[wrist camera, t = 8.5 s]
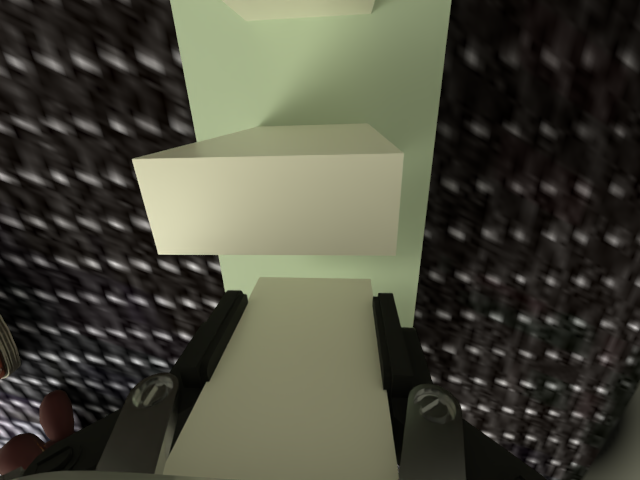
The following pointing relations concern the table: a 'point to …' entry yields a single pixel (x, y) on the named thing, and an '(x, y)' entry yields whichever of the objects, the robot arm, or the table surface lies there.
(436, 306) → the table surface
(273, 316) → the domino
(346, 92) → the board
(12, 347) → the lighter
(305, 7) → the domino
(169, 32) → the table surface
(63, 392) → the icecream
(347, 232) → the domino
